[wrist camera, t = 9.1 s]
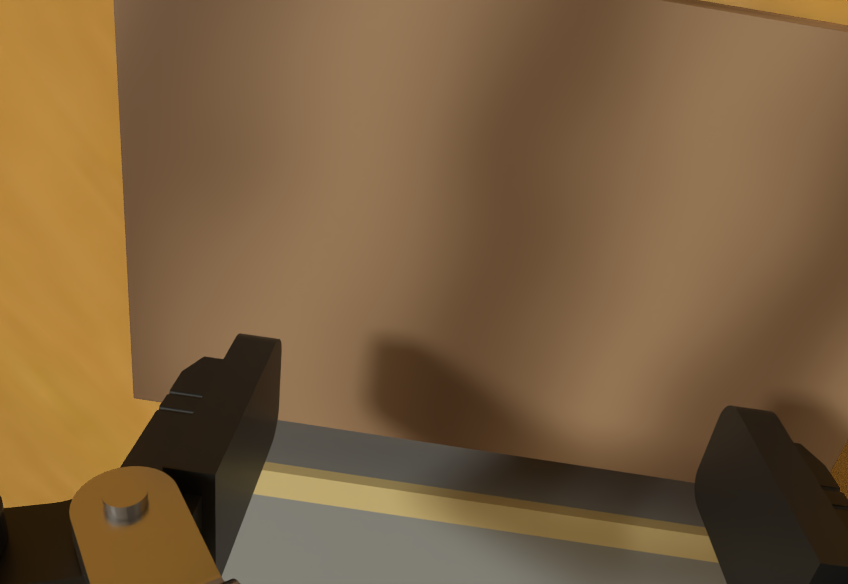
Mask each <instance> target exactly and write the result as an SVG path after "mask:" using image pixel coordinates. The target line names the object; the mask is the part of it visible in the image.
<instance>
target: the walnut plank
mask: <svg viewBox="0 0 848 584" xmlns="http://www.w3.org/2000/svg"><path fill="white" fill-rule="evenodd" d="M114 17H115V36H116V56H117V76H118V96H119V116H120V135H121V155H122V175H123V195H124V215H125V234H126V254H127V274H128V294H129V314H130V333H131V353H132V373H133V393H134V398H136V399H143V400H149V401H156V402H162V401H163V400H164V398H165V397H166V395H167V394H169V392H170V389H171V387H172V386H173V384H174V383H175V381H176V380H177V378H178V376H179V375H180V373H181V372H182V371H183V370H184V369H186V368H187V367H189V366H190V365H192V364H193V363H195V362H196V361H198V360H199V359H201V358H202V357H204V356H205V357H212V358H219V359H224V357H225V355H226V354H227V352H228V350H229V348H230V346H231V345H232V343H233V341H234V339H235V338H236V336H237V335H238V334H239V333H242V334H249V335H256V336H262V337H269V338H276V339H280V340H281V344H282V356H281V377H280V398H279V414H278V420H282V421H289V422H295V423H302V424H308V425H315V426H322V427H328V428H335V429H341V430H348V431H355V432H361V433H368V434H375V435H381V436H388V437H394V438H401V439H408V440H414V441H421V442H428V443H434V444H441V445H447V446H454V447H461V448H467V449H474V450H480V451H487V452H494V453H500V454H507V455H514V456H520V457H527V458H533V459H540V460H547V461H553V462H560V463H567V464H573V465H580V466H586V467H593V468H600V469H606V470H613V471H620V472H626V473H633V474H639V475H646V476H653V477H659V478H666V479H672V480H679V481H686V482H692V483H695V478H696V473H697V470H698V467H699V465H700V462H701V460H702V458H703V455H704V453H705V450H706V448H707V445H708V443H709V440H710V438H711V435H712V433H713V431H714V428H715V426H716V423H717V421H718V418H719V416H720V414H721V412H722V411H723V409H724V408H725V407H727V406H729V405H731V406H738V407H745V408H752V409H759V410H766V411H772V412H774V413H775V414H776V415H777V417H778V418H779V420H780V421H781V423H782V425H783V426H784V428H785V429H786V431H787V433H788V434H789V436H790V438H791V439H792V441H793V442H794V443H800V444H802V445H803V446H804V447H805V448H806V449H807V450H808V451H810V452H811V453H812V454H813V455H814V456H815V457H816V458H817V459H819V460H820V461H821V462H822V463H823V464H824V465H825V466H826V467H827V469H828V470H829V472H831V470H832V468H833V466H834V464H835V463H836V461H837V459H838V457H839V455H840V454H841V452H842V450H843V448H844V446H845V444H846V443H847V441H848V26H847V25H841V24H835V23H829V22H823V21H818V20H812V19H806V18H800V17H794V16H788V15H782V14H777V13H771V12H765V11H759V10H753V9H747V8H741V7H735V6H730V5H724V4H718V3H712V2H706V1H700V0H114Z"/></svg>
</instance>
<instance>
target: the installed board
mask: <svg viewBox="0 0 848 584" xmlns="http://www.w3.org/2000/svg"><path fill="white" fill-rule="evenodd" d="M222 578H223V580H224V581H228V580H230V579H233V578H234V579H236V580H237V581H239V583H240V584H727V583H726V580H725V578H724V575H723V572H722V570H721V567H720V565H719V562H718V559H717V557H716V554H715V552H714V549H713V547H712V544H711V541H710V539H709V536H708V534H707V531H706V528H705V526H704V523H703V521H702V518H701V515H700V513H699V510H698V508H697V505H696V500H695V483H692V482H686V481H679V480H672V479H666V478H659V477H653V476H646V475H639V474H633V473H626V472H620V471H613V470H606V469H600V468H593V467H586V466H580V465H573V464H567V463H560V462H553V461H547V460H540V459H533V458H527V457H520V456H514V455H507V454H500V453H494V452H487V451H480V450H474V449H467V448H461V447H454V446H447V445H441V444H434V443H428V442H421V441H414V440H408V439H401V438H394V437H388V436H381V435H375V434H368V433H361V432H355V431H348V430H341V429H335V428H328V427H322V426H315V425H308V424H302V423H295V422H289V421H282V420H278V421H277V426H276V431H275V435H274V439H273V442H272V445H271V448H270V450H269V453H268V456H267V458H266V461H265V464H264V466H263V469H262V472H261V474H260V477H259V479H258V482H257V485H256V487H255V490H254V493H253V495H252V498H251V501H250V503H249V506H248V508H247V511H246V514H245V516H244V519H243V522H242V524H241V527H240V529H239V532H238V535H237V537H236V540H235V543H234V545H233V548H232V551H231V553H230V556H229V558H228V561H227V564H226V566H225V569H224V572H223V574H222Z"/></svg>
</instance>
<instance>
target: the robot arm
mask: <svg viewBox="0 0 848 584" xmlns="http://www.w3.org/2000/svg"><path fill="white" fill-rule="evenodd" d="M281 356H282V344H281V340H280V339H276V338H269V337H262V336H256V335H249V334H242V333H239V334H238V335H237V336H236V338H235V339H234V341H233V343H232V345H231V346H230V348H229V350H228V352H227V354H226V355H225V357H224V359H219V358H212V357H205V356H204V357H202V358H201V359H199V360H198V361H196V362H195V363H193V364H192V365H190V366H189V367H187V368H186V369H184V370H183V371H182V372H181V373H180V375H179V376H178V378H177V380H176V381H175V383H174V384H173V386H172V387H171V389H170V392H169V394H167V395H166V397H165V398H164V400H163V401H162V403H161V405H160V407H159V410H157V411H156V412H155V414H154V415H153V417H152V419H151V420H150V422H149V423H148V425H147V426H146V428H145V429H144V431H143V433H142V434H141V436H140V437H139V439H138V440H137V442H136V444H135V445H134V447H133V448H132V450H131V451H130V453H129V454H128V456H127V458H126V459H125V461H124V462H123V464H122V465H121V467H120V468H117V469H113V470H110V471H107V472H104V473H102V474H100V475H98V476H96V477H94V478H92V479H91V480H89V481H88V482H87V483H85V484H84V485H83V486H82V487H81V488H80V489H79V490H78V491H77V492H76V494H75V496H74V497H73V499H71V500H67V501H63V502H57V503H51V504H41V505H31V506H22V507H12V508H3V503H2V499H1V496H0V584H240V583H239V581H237V580H236V579H234V578H233V579H230V580H228V581H224V580H223V578H222V574H223V572H224V569H225V566H226V564H227V561H228V558H229V556H230V553H231V551H232V548H233V545H234V543H235V540H236V537H237V535H238V532H239V529H240V527H241V524H242V522H243V519H244V516H245V514H246V511H247V508H248V506H249V503H250V501H251V498H252V495H253V493H254V490H255V487H256V485H257V482H258V479H259V477H260V474H261V472H262V469H263V466H264V464H265V461H266V458H267V456H268V453H269V450H270V448H271V445H272V442H273V439H274V435H275V431H276V426H277V421H278V414H279V398H280V377H281ZM839 490H840V487H839V486H838V484H837V483H836V481H835V480H834V478H833V477H832V475H831V474H830V472H829V470H828V469H827V467H826V466H825V465H824V464H823V463H822V462H821V461H820V460H819V459H817V458H816V457H815V456H814V455H813V454H812V453H811V452H810V451H808V450H807V449H806V448H805V447H804V446H803V445H802V444H800V443H794V442H793V441H792V439H791V438H790V436H789V434H788V433H787V431H786V429H785V428H784V426H783V425H782V423H781V421H780V420H779V418H778V417H777V415H776V414H775V413H774V412H772V411H766V410H759V409H752V408H745V407H738V406H731V405H729V406H727V407H725V408H724V409H723V411H722V412H721V414H720V416H719V418H718V421H717V423H716V426H715V428H714V431H713V433H712V435H711V438H710V440H709V443H708V445H707V448H706V450H705V453H704V455H703V458H702V460H701V462H700V465H699V467H698V470H697V473H696V478H695V500H696V505H697V508H698V510H699V513H700V515H701V518H702V521H703V523H704V526H705V528H706V531H707V534H708V536H709V539H710V541H711V544H712V547H713V549H714V552H715V554H716V557H717V559H718V562H719V565H720V567H721V570H722V572H723V575H724V578H725V580H726V583H727V584H848V500H847V498H846V497H845V495H844V494H843V493H842V492H840V491H839Z"/></svg>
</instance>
